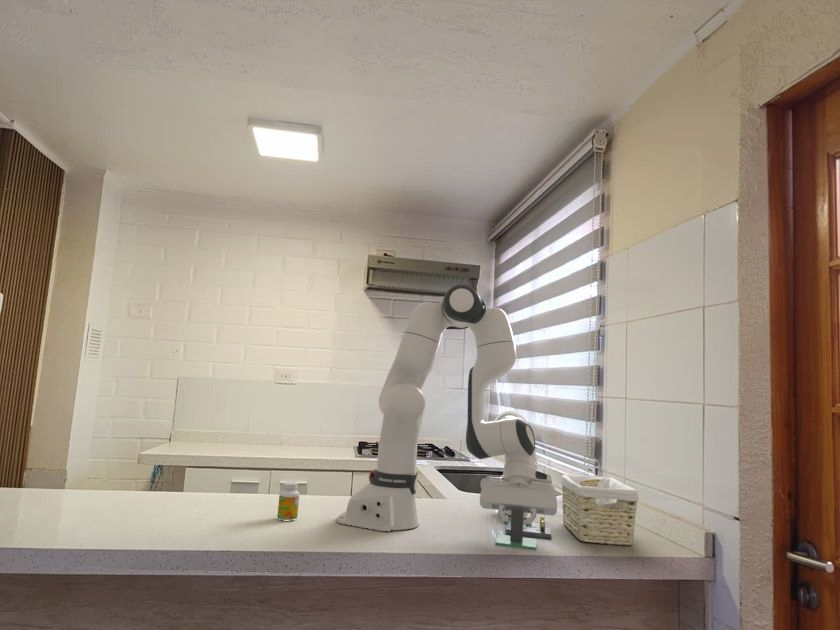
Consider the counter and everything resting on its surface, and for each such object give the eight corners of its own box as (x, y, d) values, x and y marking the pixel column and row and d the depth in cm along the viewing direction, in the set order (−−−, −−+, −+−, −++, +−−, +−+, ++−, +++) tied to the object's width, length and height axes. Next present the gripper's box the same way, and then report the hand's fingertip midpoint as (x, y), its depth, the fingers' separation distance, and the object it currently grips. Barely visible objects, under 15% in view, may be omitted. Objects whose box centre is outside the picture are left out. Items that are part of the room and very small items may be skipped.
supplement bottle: (273, 520, 146) (276, 483, 147) (282, 516, 151) (286, 480, 152) (291, 522, 144) (294, 485, 146) (300, 518, 150) (303, 482, 151)
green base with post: (495, 545, 135) (497, 509, 136) (498, 537, 143) (499, 503, 144) (536, 550, 133) (537, 513, 134) (536, 542, 141) (537, 507, 142)
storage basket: (558, 522, 164) (559, 472, 166) (612, 526, 163) (612, 476, 165) (577, 544, 141) (578, 486, 143) (640, 549, 140) (640, 490, 142)
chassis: (505, 533, 146) (506, 520, 147) (507, 523, 158) (508, 510, 159) (551, 538, 144) (551, 524, 144) (549, 528, 156) (549, 515, 156)
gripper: (481, 468, 149) (476, 513, 138) (557, 475, 145) (558, 521, 134) (481, 482, 153) (476, 526, 142) (555, 490, 149) (556, 536, 138)
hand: (516, 524), depth 138 cm, fingers open, 5 cm apart
